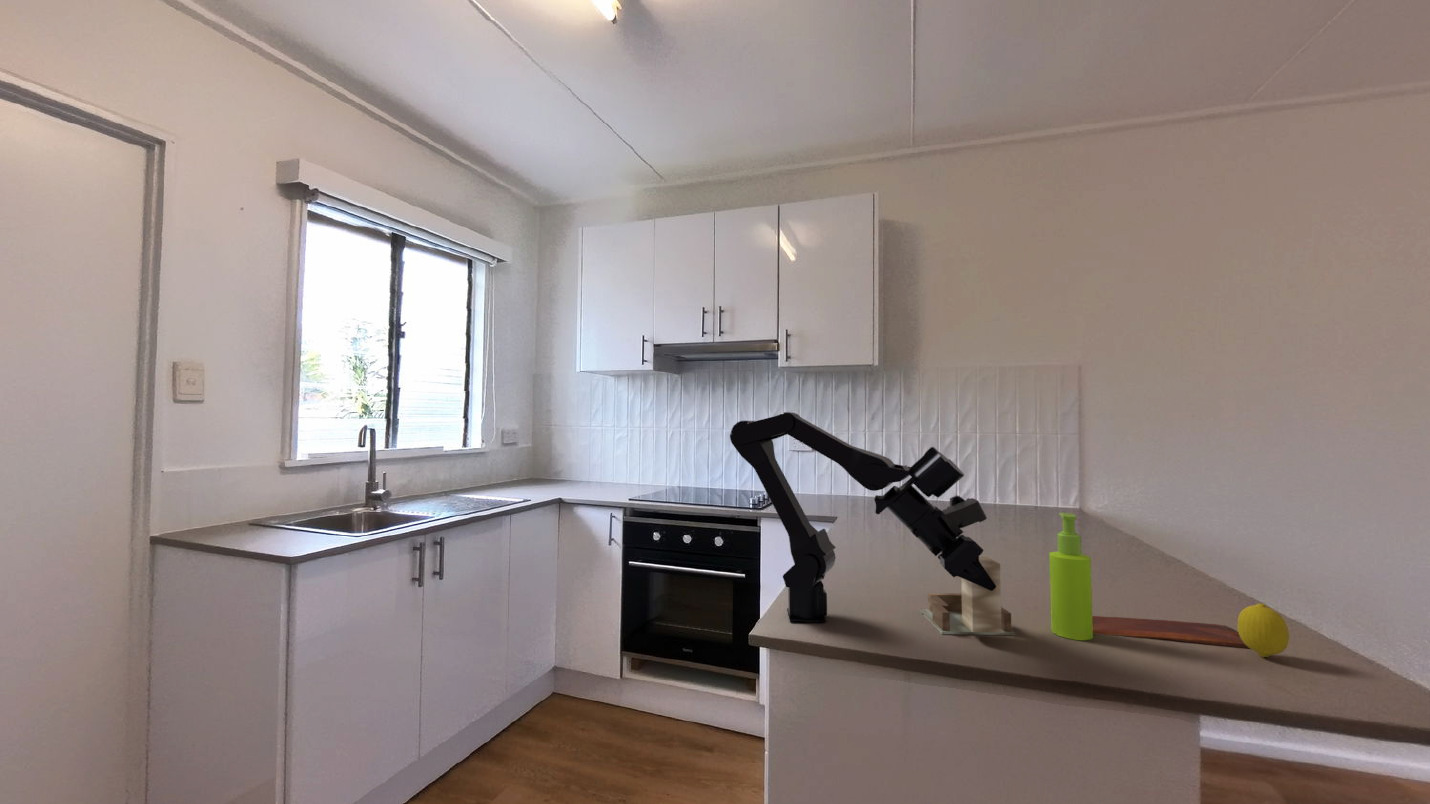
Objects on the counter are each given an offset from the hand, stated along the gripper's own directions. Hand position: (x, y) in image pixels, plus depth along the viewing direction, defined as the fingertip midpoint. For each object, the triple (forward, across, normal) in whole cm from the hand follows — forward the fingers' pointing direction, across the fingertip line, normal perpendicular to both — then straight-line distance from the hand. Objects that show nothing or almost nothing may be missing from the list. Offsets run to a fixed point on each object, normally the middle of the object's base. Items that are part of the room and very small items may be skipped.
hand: (989, 584), depth 91 cm
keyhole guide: (+5, +7, +8) cm, 12 cm away
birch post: (+4, 0, +6) cm, 7 cm away
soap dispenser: (+16, +6, -4) cm, 18 cm away
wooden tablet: (+26, +10, -13) cm, 31 cm away
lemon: (+33, 0, -21) cm, 39 cm away
